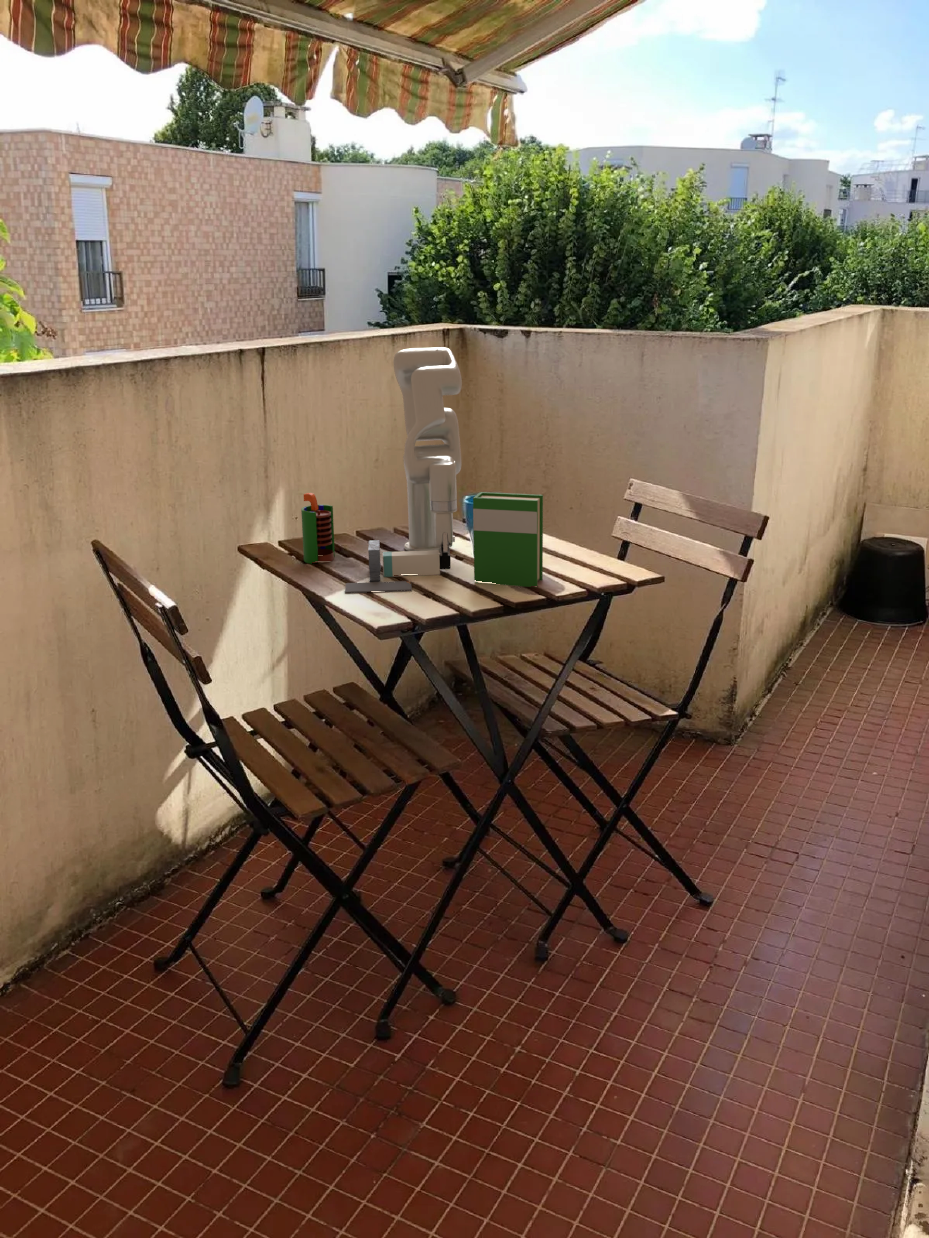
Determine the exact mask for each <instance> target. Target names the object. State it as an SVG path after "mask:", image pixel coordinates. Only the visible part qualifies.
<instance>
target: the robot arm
mask: <svg viewBox="0 0 929 1238" xmlns="http://www.w3.org/2000/svg"><path fill="white" fill-rule="evenodd" d="M392 363H393V371H394V375H395V379H396V381H397V383H398V386H399V389H400V392H401V395H402V401H403V403H402V404H403V412H404V414H403V415H404V425H405V426H404V427H405V432H406V436H407V437H406V439H405V442H404V450H403V451H404V452H403V457H402V458H403V459H402V461H403V468H404V473H405V478H406V490H407V493H406V494H407V513H408V519H407V520H408V541H407V542H405V543H404V550H405V551H426V550H439V558H440V570H450V569H451V563H452V562H451V554H450V553H451V552H450V551H451V550H450V549H451V548H452V547H453V543H455V542H456V538H455V537H456V536H455V535H454V531H453V530H454V517H453V516H454V514H453V513H455V512H457V511H458V506H457V505H458V503H457V502H458V501H457V500H458V499H457V497H458V493H457V475H458V474H459V473H460V472H461V469H462V449H461V438H460V427H459V419H458V416H457V413H456V412H455V410H454V409H452V408H450V407H445V404H444V397H443V396H453V395H458V394H460V393H461V391H462V386H463V381H462V380H463V379H462V374H461V371H460V370H461V369H460V367H459V364H458V362H457V360H456V357H455V355H454V353H453V351H452V350H451V349H450V348H449V347H445V346H444V347H443V346H441V347H440V346H438V347H411V348H405V349H400V350H398V351H396V353H395V354H394V356H393V361H392ZM424 441H425V442H426V441H427V442H429V441H442V442H443V443H441V444H425V445H416V442H424Z"/></svg>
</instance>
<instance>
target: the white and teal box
mask: <svg viewBox="0 0 929 1238" xmlns="http://www.w3.org/2000/svg"><path fill="white" fill-rule="evenodd" d="M439 554H440V552H439V550H426V551H407V550H405V551H383V552H382V571H383V573H382V575H383V578H385V577H386V578H387V577H388V578H389V577H395V576H394V575H401V574H418V575H417V576H433V575H434V576H439V575H441V569H440V558H439Z"/></svg>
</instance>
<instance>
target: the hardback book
mask: <svg viewBox="0 0 929 1238" xmlns="http://www.w3.org/2000/svg"><path fill="white" fill-rule="evenodd" d="M472 509H473V510H472V511H473V512H472V514H473V516H472V517H473V519H472V521H473V522H472V523H473V526H472V527H473V528H472V529H473V581H474V580H476V581H482V582H492V583H496V584H500V585H499V586H514V587H524V588H525V587H528V588H532V587H531V586H537V587H538V581H543V577H544V576H543V574H544V573H543V571H544V568H543V565H544V564H543V563H544V562H543V561H544V559H543V557H544V551H543V550H544V549H543V548H544V547H543V546H544V545H543V544H544V520H543V519H544V494H532V493H531V494H528V493H514V492H513V493H509V492H508V493H507V492H492V491H491V492H488V491H487V492H485V491H480V492H478V493H477V494H476V495H475V496H474V497H472ZM496 584H495V585H496Z"/></svg>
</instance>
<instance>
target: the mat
mask: <svg viewBox="0 0 929 1238" xmlns="http://www.w3.org/2000/svg"><path fill="white" fill-rule="evenodd" d="M406 581H407V580H400V581H399V580H397V581H396V580H395V581H380V582H370V581H369V582H367V581H366V582H365V581H364V582H346V583H345V588H344V594H363V593H364V594H365V593H366V594H368V593H367V592H371V591H385V592H384V593H393V592H394V593H397V592H398V593H399V592H401V593H402V592H412V591H413V590H412V589H413V588H412V583H411V584H409V583H407V582H406Z"/></svg>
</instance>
